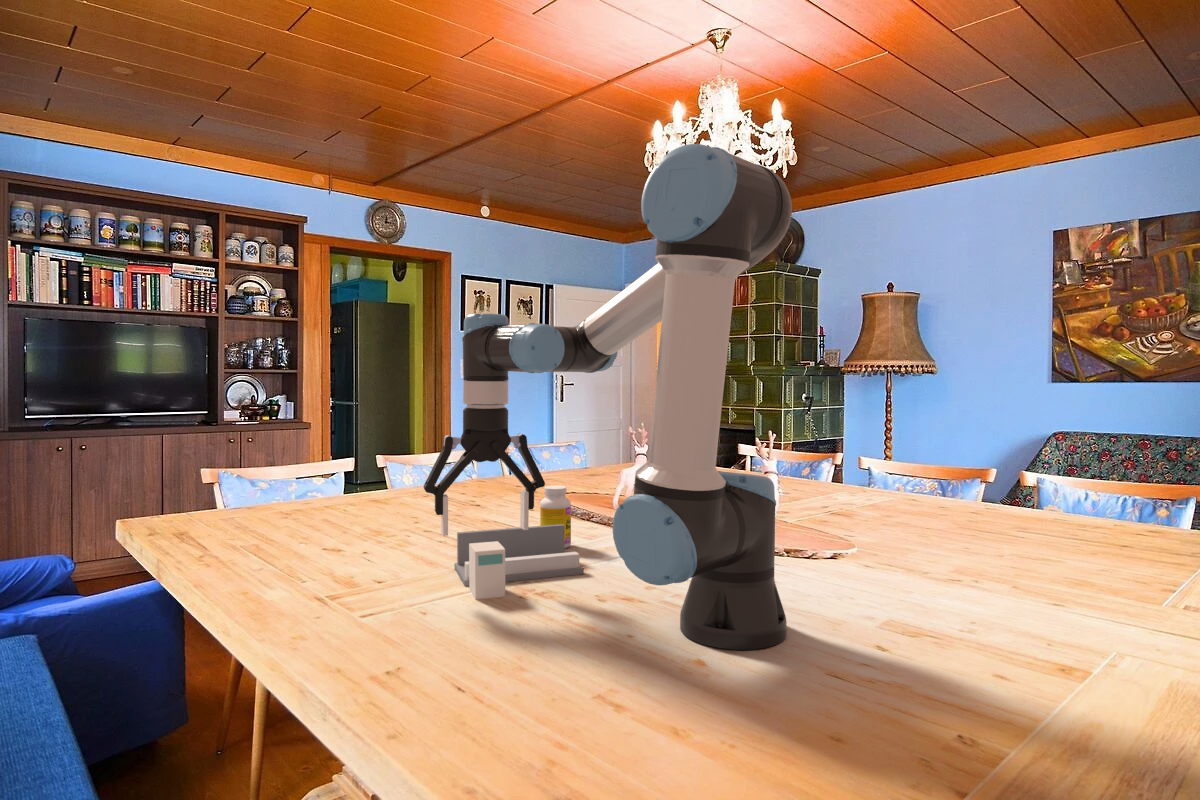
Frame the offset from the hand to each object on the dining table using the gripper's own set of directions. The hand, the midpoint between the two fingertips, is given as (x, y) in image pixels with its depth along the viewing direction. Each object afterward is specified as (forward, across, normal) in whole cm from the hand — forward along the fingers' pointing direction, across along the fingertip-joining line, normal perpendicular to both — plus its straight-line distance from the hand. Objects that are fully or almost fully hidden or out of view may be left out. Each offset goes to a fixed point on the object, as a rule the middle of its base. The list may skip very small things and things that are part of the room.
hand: (485, 531), depth 121 cm
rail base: (+10, -8, -10) cm, 17 cm away
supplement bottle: (+11, -20, -26) cm, 35 cm away
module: (+10, 0, 0) cm, 11 cm away
